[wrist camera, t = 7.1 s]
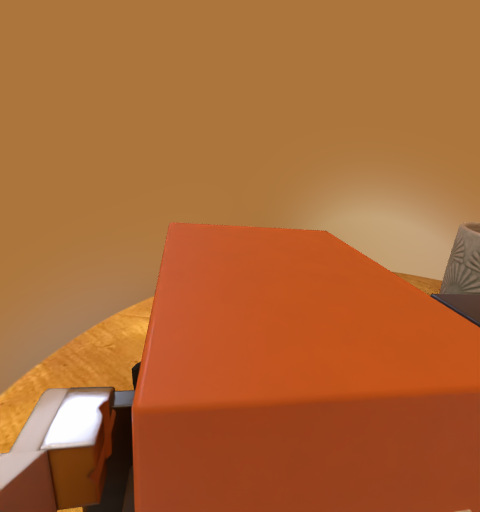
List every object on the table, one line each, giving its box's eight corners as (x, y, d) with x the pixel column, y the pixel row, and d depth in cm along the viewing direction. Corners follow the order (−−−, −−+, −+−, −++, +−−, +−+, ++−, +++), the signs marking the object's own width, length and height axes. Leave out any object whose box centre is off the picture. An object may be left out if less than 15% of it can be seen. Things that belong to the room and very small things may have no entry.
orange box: (330, 793, 8) (580, 387, 3) (144, 855, 7) (127, 416, 2) (268, 515, 13) (327, 230, 9) (163, 530, 12) (168, 221, 8)
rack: (652, 760, 9) (1131, 451, 5) (-46, 1042, 6) (-832, 892, 1) (434, 472, 17) (534, 256, 12) (90, 514, 13) (59, 235, 9)
